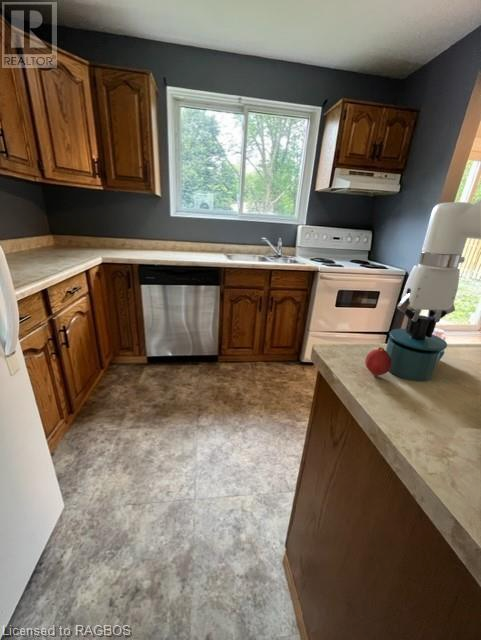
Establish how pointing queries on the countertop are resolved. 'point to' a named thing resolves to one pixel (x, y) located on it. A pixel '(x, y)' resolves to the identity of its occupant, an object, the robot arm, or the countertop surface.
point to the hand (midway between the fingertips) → (418, 334)
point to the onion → (378, 361)
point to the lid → (419, 337)
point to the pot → (411, 361)
